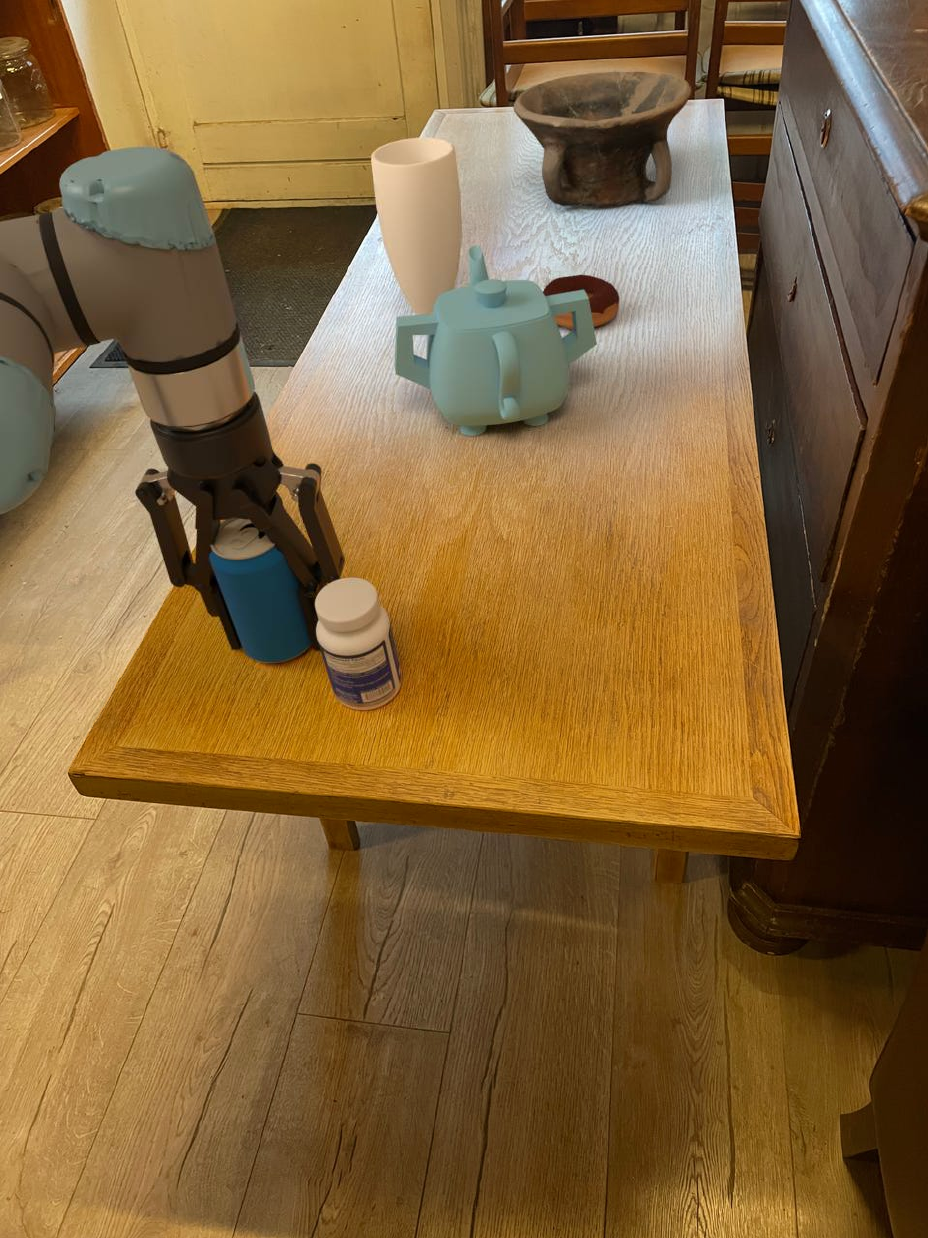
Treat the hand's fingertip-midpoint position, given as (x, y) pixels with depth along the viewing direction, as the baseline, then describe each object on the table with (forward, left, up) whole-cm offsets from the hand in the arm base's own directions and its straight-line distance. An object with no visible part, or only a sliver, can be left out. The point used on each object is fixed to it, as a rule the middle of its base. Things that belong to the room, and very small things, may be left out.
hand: (280, 637), depth 77 cm
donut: (+27, +58, -1) cm, 64 cm away
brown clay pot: (+31, +100, -1) cm, 105 cm away
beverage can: (0, 0, -1) cm, 1 cm away
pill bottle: (+8, -5, -1) cm, 10 cm away
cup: (+8, +56, -1) cm, 57 cm away
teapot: (+17, +38, -1) cm, 42 cm away
